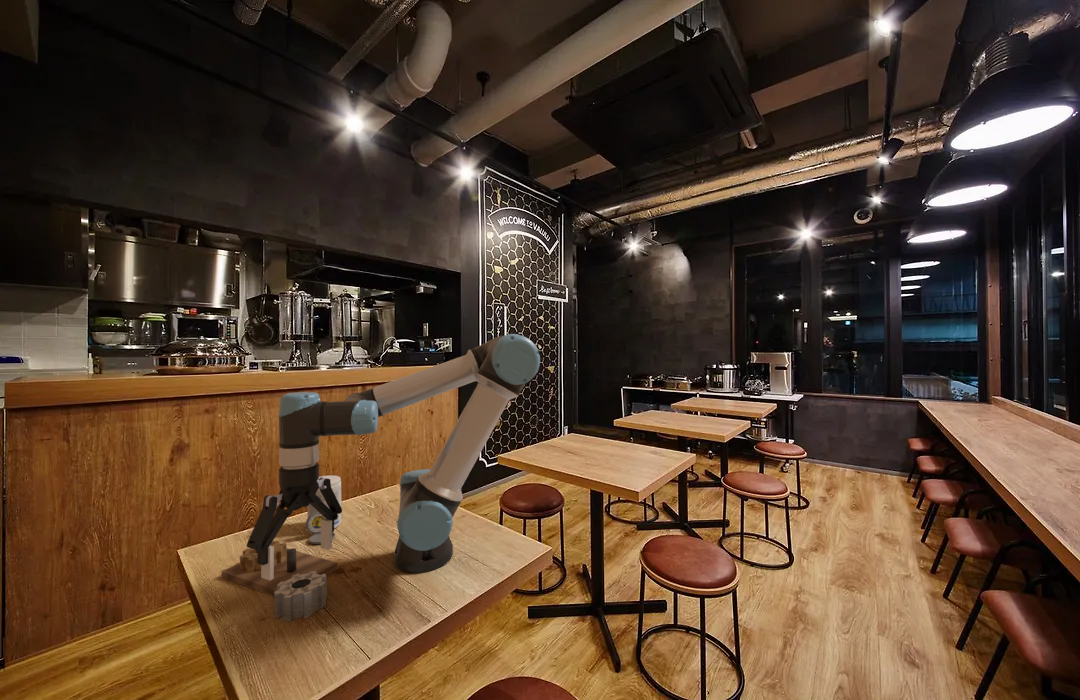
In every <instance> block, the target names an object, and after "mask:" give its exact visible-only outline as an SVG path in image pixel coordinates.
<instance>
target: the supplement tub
mask: <svg viewBox="0 0 1080 700" xmlns="http://www.w3.org/2000/svg"><path fill="white" fill-rule="evenodd" d="M321 477H322V478H327V479H330V482H331V488H332V490H333V492H334V494H335V496H336V498H337V500H338V502H339V504H340V506H341V508H342V480H341V476H339V475H322V476H319V478H321ZM317 481H319V479H318V480H317ZM316 495H317V496H318V497H319V498H320V499H321V501H322V502H323V503H324V504H325V505H326V506H327V507H328V505H327V503H326V501H325V499H324V497H323V495H322V493H321V491H320V489H319V488H318V490H317V492H316ZM306 508H307V513H306V514H307V518H308V517H309V516H310V515H311V514H312V513H313V512H315V511H317V510H316V509H315V508H314V507H313V506H312V505H311V504H309V506H306ZM328 508H329V507H328ZM342 509H343V508H342ZM342 512H343V511H342ZM342 512H341V513H340V514H337V515H338V518H337V520H334V530H335V529H336V528H338V527H339V526H340V525H341V524H342V520H343V519H342V517H343V516H342V515H343V514H342ZM323 518H324V517H323ZM323 518H321V519H323ZM317 524H318V523H317ZM317 524H315V525H317ZM312 526H313V525H312ZM317 527H320V526H315V527H313V528H317Z"/></svg>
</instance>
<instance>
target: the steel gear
mask: <svg viewBox="0 0 1080 700" xmlns="http://www.w3.org/2000/svg"><path fill="white" fill-rule="evenodd" d="M327 577H328V575H327V576H326V575H325V574H322V575H319V574H317V571H311V572H310V573H308V574H302V575H300V574H296V575H293V576H292V578H291V579H289V580H287V581H285V582H280V583H279V584H278V585H277V591H275V592H274V596H273V597H274V600H273V601H274V606H273V607H274V617H275V618H276V619H279V618H283V622H284V623H285V622H290V623H291V622H292V621H293V620H296V619H299V618H303V619H304V620H305V619H308V618H309V617H312V615H313V613H314V612H316V611H317V610H319V609H320V610H322V609H323V608H325V606H326V603H327V601H326V600H327V598H328V588H327V587H328V586H327V585H328V579H327Z"/></svg>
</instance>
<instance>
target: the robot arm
mask: <svg viewBox="0 0 1080 700" xmlns="http://www.w3.org/2000/svg"><path fill="white" fill-rule="evenodd" d="M540 365H541V356H540V353H539V350H538V348H537V346H536V344H535V343H534V342H533V341H532V340H531V339H529V338H528V337H526V336H524V335H521V334H517V333H509V334H505V335H499V336H496V337H494V338H493V339H490V340H488V341H486V342H485V343H482V344H481V345H478V346H475V347H474V348H471V349H468V350H467V353H466V354H465V355H462V356H459V357H455V358H454V359H453V358H452V359H450V360H448V361H445V362H442V363H440V364H436V365H433V366H430V367H429V368H428V367H427V368H425V369H423V370H419V371H417V372H413V373H411V374H408V375H406V376H403V377H399V378H397V379H395V380H392V381H388V382H386V383H383V384H380V385H378V386H374V387H372V388H369V389H366V390H363V391H360V392H354V393H352V394H350V395H348V396H347V397H345V399H344V400H340V401H339V400H338V401H335V400H334V401H325V400H321V398H320V394H319V393H318V392H313V391H310V392H309V391H299V392H289V393H286V394H283V395H282V396H281V397H280V400H279V411H278V417H277V418H278V431H279V432H278V437H279V438H278V441H279V442H278V460H279V461H278V465H279V466H280V468H279V469H278V485H279V488H280V489H279V493H278V494H273V495H269V494H266V495H265V496H264V497H263V502H262V503H263V504H262V509H261V511H260V513H259V515H258V517H257V519H256V522H255V524H254V527H253V529H252V532H251V534H250V536H249V538H248V541H247V542H246V547H247V549H250V548H251V549H254V550H258V561H257V562H258V564H260V565H261V578H264V579H267V580H269V581H270V580H272V579H274V547H273V546H270V545H271V543H272V542H273V541H275V540H274V539H275V538H276V537H277V535H278V533H279V532H280V531H281V529H282V527H283V525H284V523H285V522H286V520H287V519H288V518H289V516H291V515H292V514H293V512H294V511H295V512H296V511H298V510H300V509H302V508H307V506H309V504H311V505H312V506H313V507H314V508H315V509H316V510H317V511H318V512H319V513H320V514H322V515H323V516H324V517H325V518H326V519H322V520H321V544H320V548H321V549H323V550H326V551H330V550H332V548H333V539H332V532H334V533H335V529H334V520H337V518H338V515H337V514H340V513H341V512H343V508H341V506H342V505H341V506H340V504H339V502H338V500H337V498H336V496H335V494H334V492H333V490H332V488H331V482H330V479H327V478H322V477H321V476H320V464H319V463H318V462H319V461H320V437H328V436H331V437H332V436H351V435H352V436H355V435H358V436H362V435H367V434H368V435H369V434H375V432H377V430H378V424H379V418H380V417H382V416H384V415H387V414H390V413H393V412H395V411H399V410H402V409H403V408H406V407H409V406H412V405H415V404H417V403H419V402H423V401H426V400H428V399H431V398H433V397H435V396H438V395H441V394H444V393H447V392H449V391H451V390H455V389H457V388H460V387H463V386H465V385H468V384H471V383H474V382H477V385H476V387H475V388H474V390H473V393H472V394H471V396H470V397H469V400H468V401H467V403H466V405H465V407H464V408H463V410H462V411H461V414H460V415H459V418H458V420H457V421H456V423H455V424H454V426H453V428H452V430H451V432H450V434H449V435H448V437H447V439H446V441H445V442H444V444H443V446H442V447H441V450H440V451H439V452H438V455H437V456H436V459H435V460H434V462H433V464H432V465H431V467H430V468H424V469H423V468H422V469H416V470H411V471H407V472H404V473H403V474H402V475H401V476H400V479H399V482H400V483H399V487H400V491H399V492H400V496H399V510H398V516H397V521H396V523H397V524H396V526H397V531H398V534H399V536H398V540H397V543H396V546H395V549H394V552H393V564H394V566H395V568H396V569H398V570H400V571H403V572H407V573H425V572H429V571H434V570H437V569H439V568H442V567H443V566H445V565H446V564H447V562H448V561H449V560H450V559H452V558H453V556H454V555H453V554H454V545H453V541H452V540H451V538H450V534H451V531H452V528H453V524H454V521H453V517H454V515H455V513H456V512H457V510H458V508H459V507H460V505H461V503H462V501H463V499H464V497H463V492H462V487H463V485H464V484H465V482H466V480H467V479H468V477H469V475H470V472H471V471H472V469H473V468H474V466H475V464H476V462H477V461H478V458H479V456H480V454H481V453H482V451H483V449H484V447H485V445H486V443H487V442H488V440H489V438H490V436H491V435H492V432H493V430H494V429H495V427H496V425H497V423H498V422H499V420H500V418H501V415H502V414H503V412H504V410H505V409H506V407H507V405H508V403H509V402H510V401H511V400H513V399H516V398H518V397H519V395H520V394H521V392H522V390H523V388H524V387H525V385H526V384H527V383H528V382H530V381H531V380H532V379H533V378H535V377H536V375H537V373H538V371H539V369H540ZM319 477H321V478H319ZM318 479H319V481H317V480H318ZM318 488H319V489H320V491H321V493H322V495H323V497H324V499H325V501H326V503H327V505H328V507H329V508H328V507H327V506H326V505H325V504H324V503H323V502H322V501H321V499H320V498H319V497H318V496H317V495H316V492H317V490H318ZM279 502H280V503H279ZM285 508H286V509H285ZM452 555H453V556H452ZM451 557H452V558H451ZM450 561H451V560H450ZM450 561H449V562H450ZM449 562H448V563H449ZM444 564H445V565H444Z"/></svg>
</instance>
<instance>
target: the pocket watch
mask: <svg viewBox="0 0 1080 700" xmlns="http://www.w3.org/2000/svg"><path fill="white" fill-rule="evenodd" d="M323 517H324V516H323V515H322V514H320V513H319V512H318V511H315V512H313V513H312V514H311V515H310V516H309V517H308V516H307V519H306V521H305V529H306V531H307V532H308V533H310V534H311V536H309V539H308V542H309V543H310V544H312V545H321V520H322V519H321V518H323ZM323 519H326V518H325V517H324V518H323ZM317 523H318V524H317ZM315 524H317V525H315ZM312 525H313V526H312ZM315 526H320V527H317V528H313V527H315ZM335 536H336V534H335V531H334V532H332V540H334V539H335Z"/></svg>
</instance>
